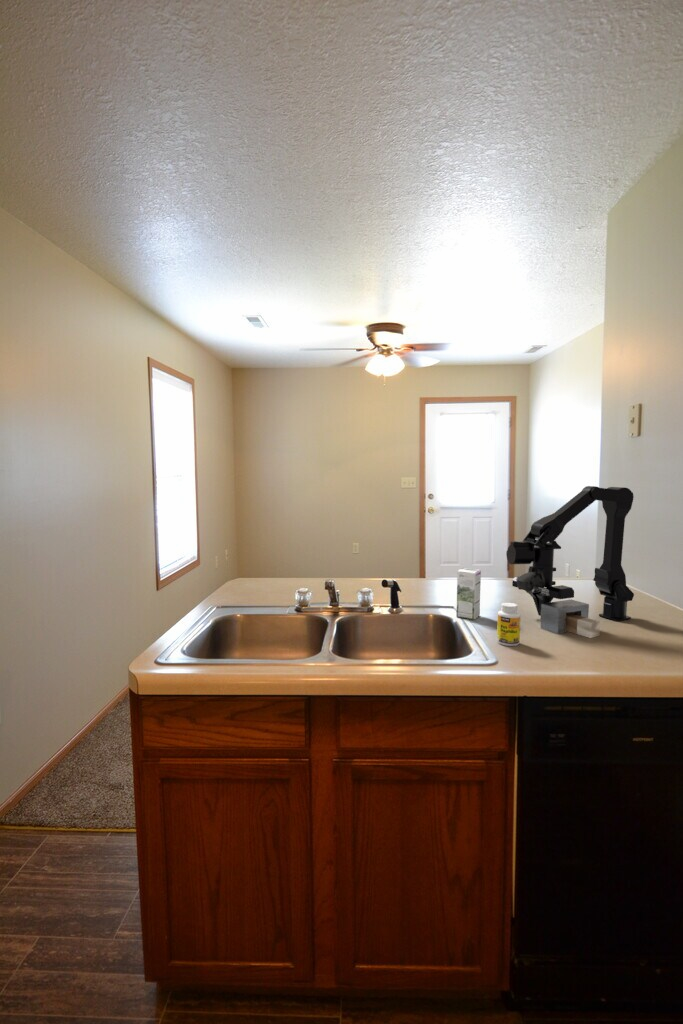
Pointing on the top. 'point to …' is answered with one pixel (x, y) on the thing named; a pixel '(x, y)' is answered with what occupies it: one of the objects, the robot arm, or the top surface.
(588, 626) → the plug rod
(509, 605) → the supplement bottle
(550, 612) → the grey u-shaped block
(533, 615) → the top surface
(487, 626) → the top surface
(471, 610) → the syrup box
